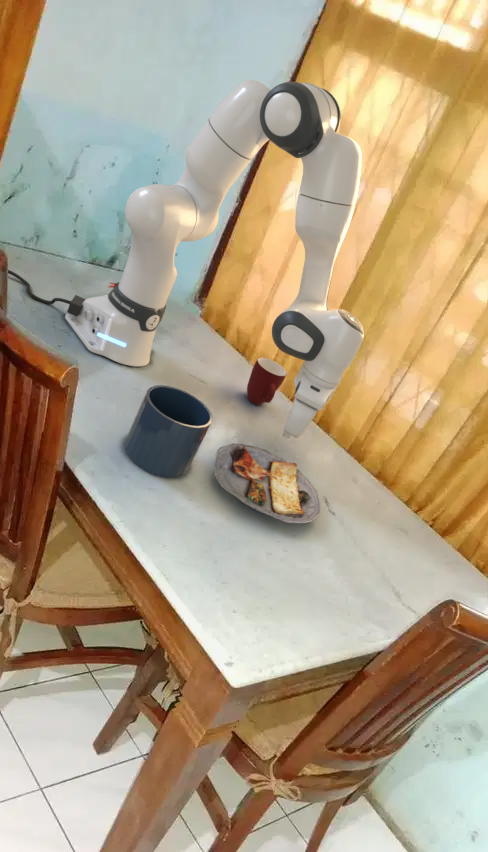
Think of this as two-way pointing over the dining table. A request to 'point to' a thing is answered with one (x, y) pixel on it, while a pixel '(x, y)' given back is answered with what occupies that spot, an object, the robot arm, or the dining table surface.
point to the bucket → (167, 431)
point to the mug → (264, 381)
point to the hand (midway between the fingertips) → (286, 434)
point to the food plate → (266, 483)
